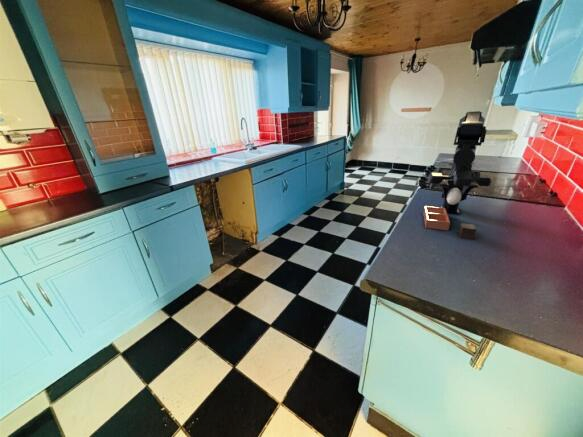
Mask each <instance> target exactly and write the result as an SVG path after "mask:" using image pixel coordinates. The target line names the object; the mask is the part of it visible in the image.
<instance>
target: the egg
mask: <svg viewBox="0 0 583 437" xmlns="http://www.w3.org/2000/svg"><path fill="white" fill-rule="evenodd" d="M461 197H462V194H461V191H460V190H459V189H458V188H452V189H451V190H450V191H449V192H448V193H447V198H446V200H447V202H448V203H449V204H452V205H454V204H457V203H458V202H459V201H460V200H461ZM460 202H461V201H460ZM460 202H459V203H460Z"/></svg>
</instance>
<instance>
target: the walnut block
mask: <svg viewBox="0 0 583 437" xmlns="http://www.w3.org/2000/svg"><path fill="white" fill-rule="evenodd" d="M458 228H459V229H458V236H459V238H461V239H468V240H469V239H470V240H474V239H475V236H476V232H477V228H476V226H475V224H471V223H463V222H460V225H459V227H458Z"/></svg>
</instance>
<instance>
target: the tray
mask: <svg viewBox="0 0 583 437" xmlns="http://www.w3.org/2000/svg"><path fill="white" fill-rule="evenodd" d="M423 208H424V209H423V212H422V214H423V221H424V228H426V229H431V230H441V231H449V229H450V225H451V220H450V218H449V215H448V213H447V212H446V209H445V208H441V207H439V206H438V207H437V206H429V205H428V206H427V205H425V206H424V207H423Z"/></svg>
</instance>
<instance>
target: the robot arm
mask: <svg viewBox="0 0 583 437" xmlns="http://www.w3.org/2000/svg"><path fill="white" fill-rule="evenodd" d="M482 114H483V111H480V110H474V111H473V110H472V111H468V112H467V111H466V113H465V115H464V116H462V117H461V118H460V119H459V122H458V126H457V129H456V133H455V136H454V137H455V138H454V141H453V146H455V151H454V154H453V158H452V163H451V164H452V165H451V168H450V171H449V175H443V173H442V172H430V173H429V174H428V178H427V179H428V182H429V184H435V185H438V186H440V187H441V188H442V193H441V198H442V199H444V200H443V204H442V205H440V208H445V209H446V212H447V214H457V215H458V214H460V211H459V206H460V203H461V202H462V201H465V200H467V197H468V194H469V193H470V192H471V191H472V190H473V189H478V188H479V187H490V186H491V185H492V178H491V177H490V176H489V175H488V174H481V171H472V168H473V162H474V161H475V159H476V149H477V147H478V146H479V147H481V146H482V145H483V144H484V142H485V140H486V135H487V131H488V130H487V127H486V126H485V125H484V124H485V121H486V119H485V117H484V116H483V115H482ZM452 188H458V189H459V190H460V191H461V194H462V197H461V200H460V201H459V202H458V203H457V204H454V205H452V204H449V203H448V202H447V200H446V198H447V193H448V192H449V191H450V190H451V189H452Z"/></svg>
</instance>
